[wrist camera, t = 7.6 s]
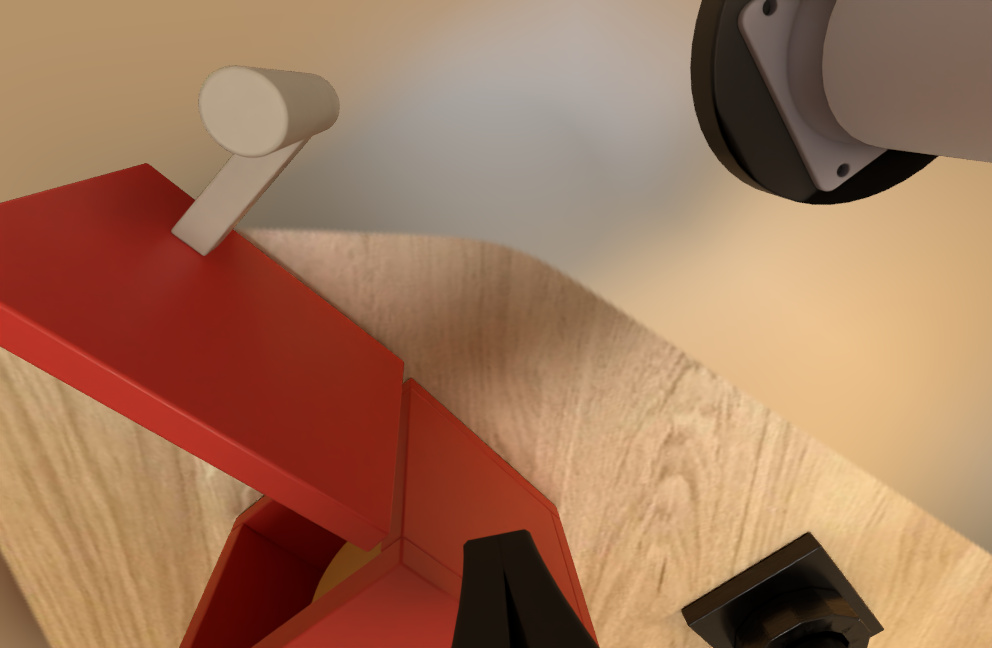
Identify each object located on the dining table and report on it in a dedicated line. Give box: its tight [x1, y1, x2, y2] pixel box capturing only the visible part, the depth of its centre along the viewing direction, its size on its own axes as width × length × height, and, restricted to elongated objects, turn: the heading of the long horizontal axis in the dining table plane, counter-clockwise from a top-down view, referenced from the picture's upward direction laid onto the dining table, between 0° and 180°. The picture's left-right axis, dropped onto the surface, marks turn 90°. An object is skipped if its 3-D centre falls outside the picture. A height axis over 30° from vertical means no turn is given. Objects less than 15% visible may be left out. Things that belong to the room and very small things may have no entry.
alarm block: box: [682, 533, 884, 648], centre depth 28 cm, size 8×10×2 cm
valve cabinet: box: [179, 378, 599, 648], centre depth 18 cm, size 10×10×8 cm
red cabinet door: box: [0, 65, 404, 552], centre depth 13 cm, size 6×10×8 cm, turn 44°
